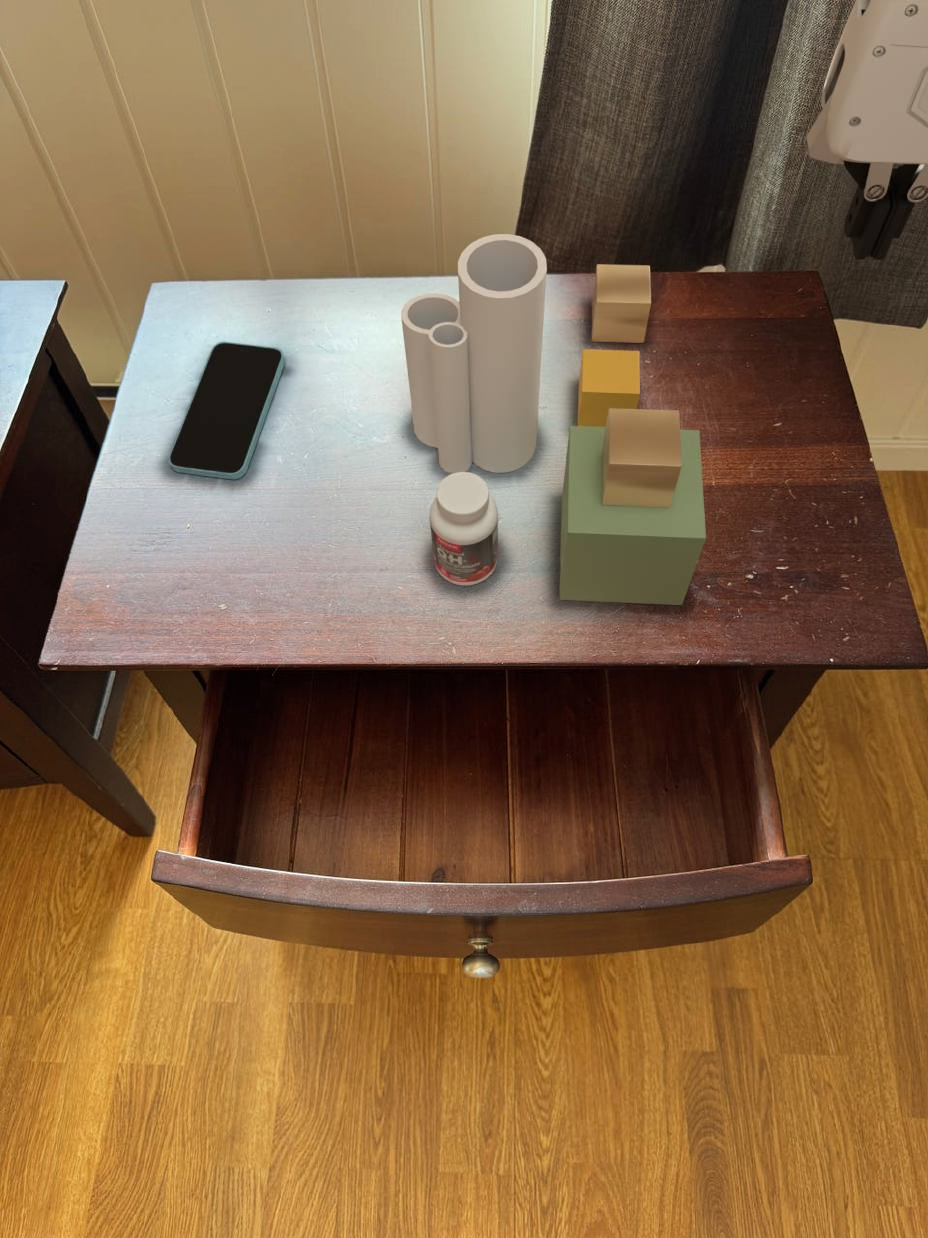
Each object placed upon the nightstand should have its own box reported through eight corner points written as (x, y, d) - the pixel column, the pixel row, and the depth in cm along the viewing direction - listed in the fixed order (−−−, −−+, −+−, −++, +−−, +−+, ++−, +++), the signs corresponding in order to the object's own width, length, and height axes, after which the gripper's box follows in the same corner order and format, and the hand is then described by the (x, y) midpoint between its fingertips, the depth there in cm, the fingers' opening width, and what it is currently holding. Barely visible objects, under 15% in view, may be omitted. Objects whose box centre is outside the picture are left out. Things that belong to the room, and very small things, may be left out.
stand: (561, 500, 82) (569, 425, 73) (677, 505, 81) (699, 429, 72) (559, 600, 77) (567, 532, 68) (682, 605, 76) (706, 538, 67)
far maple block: (591, 304, 93) (596, 263, 88) (642, 305, 92) (649, 264, 88) (591, 341, 90) (596, 301, 86) (643, 343, 90) (651, 303, 86)
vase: (539, 417, 86) (550, 235, 69) (532, 480, 83) (542, 306, 65) (417, 407, 87) (398, 226, 69) (406, 469, 84) (382, 295, 66)
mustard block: (578, 387, 88) (582, 348, 83) (632, 389, 87) (639, 350, 83) (577, 429, 85) (581, 391, 81) (632, 431, 85) (640, 393, 81)
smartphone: (164, 465, 84) (214, 340, 90) (168, 472, 85) (217, 348, 91) (241, 475, 83) (286, 348, 89) (244, 483, 84) (288, 356, 90)
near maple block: (601, 451, 71) (608, 407, 67) (668, 454, 71) (679, 410, 67) (601, 505, 69) (609, 463, 65) (670, 508, 69) (682, 466, 64)
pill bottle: (435, 589, 78) (427, 522, 69) (433, 535, 80) (426, 464, 72) (499, 586, 78) (500, 519, 69) (496, 532, 80) (496, 461, 72)
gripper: (847, -59, 40) (745, 284, 56) (1215, -57, 39) (1004, 291, 55) (826, -146, 43) (736, 200, 59) (1164, -146, 42) (979, 205, 58)
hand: (865, 243), depth 57 cm, fingers closed
